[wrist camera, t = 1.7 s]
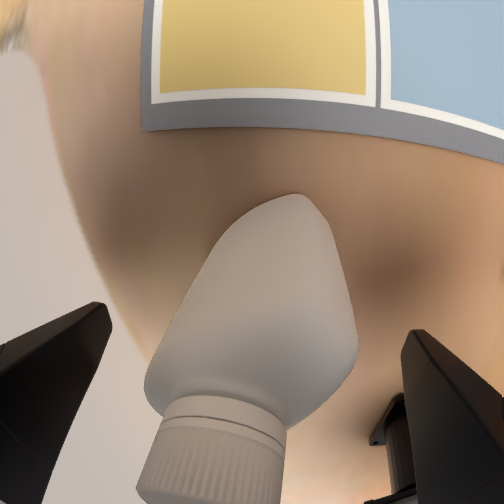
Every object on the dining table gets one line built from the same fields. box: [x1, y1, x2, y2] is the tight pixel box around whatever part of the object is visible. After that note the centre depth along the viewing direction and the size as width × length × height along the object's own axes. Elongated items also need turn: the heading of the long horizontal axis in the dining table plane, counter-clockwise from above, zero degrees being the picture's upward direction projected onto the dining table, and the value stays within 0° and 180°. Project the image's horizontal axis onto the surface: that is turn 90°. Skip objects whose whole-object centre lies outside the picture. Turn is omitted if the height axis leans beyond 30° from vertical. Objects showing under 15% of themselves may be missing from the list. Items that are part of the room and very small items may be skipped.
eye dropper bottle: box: [136, 194, 359, 504], centre depth 8 cm, size 4×6×12 cm
